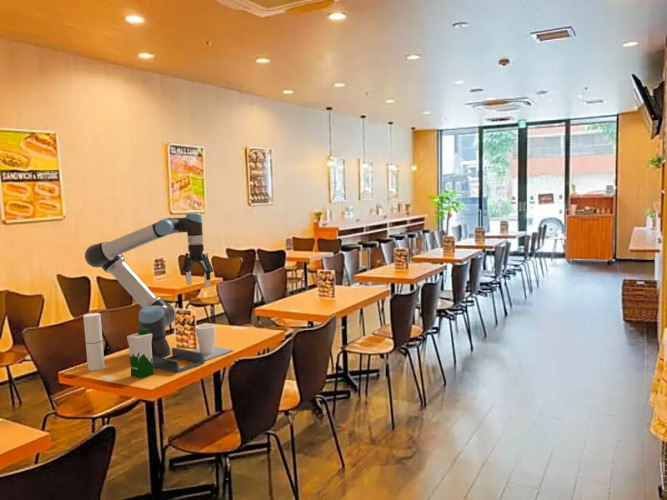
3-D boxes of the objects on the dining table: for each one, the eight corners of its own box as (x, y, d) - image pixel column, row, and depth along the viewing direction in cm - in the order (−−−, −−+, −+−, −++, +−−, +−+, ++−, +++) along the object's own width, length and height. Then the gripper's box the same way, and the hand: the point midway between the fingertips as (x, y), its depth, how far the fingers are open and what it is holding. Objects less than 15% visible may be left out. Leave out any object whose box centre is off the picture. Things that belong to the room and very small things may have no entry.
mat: (180, 355, 277) (180, 354, 277) (207, 346, 292) (207, 345, 292) (206, 360, 267) (205, 359, 267) (233, 351, 282) (233, 350, 282)
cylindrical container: (94, 371, 258) (90, 317, 255) (84, 369, 261) (79, 315, 259) (108, 366, 264) (103, 313, 261) (97, 365, 267) (93, 312, 265)
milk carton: (157, 373, 251) (154, 329, 249) (140, 379, 244) (136, 333, 242) (144, 370, 256) (141, 327, 254) (127, 376, 248) (123, 331, 246)
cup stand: (147, 366, 262) (147, 355, 262) (174, 357, 275) (173, 347, 274) (177, 373, 251) (176, 361, 250) (204, 363, 263) (203, 352, 263)
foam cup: (195, 351, 282) (193, 325, 280) (214, 348, 286) (212, 323, 284) (199, 356, 273) (197, 329, 272) (218, 353, 277) (217, 327, 276)
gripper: (173, 244, 291) (176, 285, 294) (207, 245, 277) (210, 288, 280) (184, 242, 298) (187, 282, 300) (218, 243, 283) (221, 285, 286)
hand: (198, 285), depth 290 cm, fingers open, 13 cm apart
